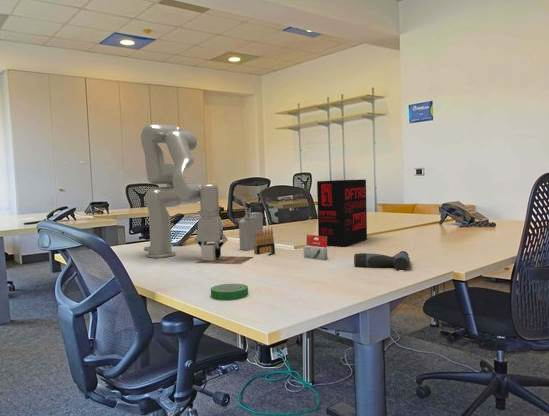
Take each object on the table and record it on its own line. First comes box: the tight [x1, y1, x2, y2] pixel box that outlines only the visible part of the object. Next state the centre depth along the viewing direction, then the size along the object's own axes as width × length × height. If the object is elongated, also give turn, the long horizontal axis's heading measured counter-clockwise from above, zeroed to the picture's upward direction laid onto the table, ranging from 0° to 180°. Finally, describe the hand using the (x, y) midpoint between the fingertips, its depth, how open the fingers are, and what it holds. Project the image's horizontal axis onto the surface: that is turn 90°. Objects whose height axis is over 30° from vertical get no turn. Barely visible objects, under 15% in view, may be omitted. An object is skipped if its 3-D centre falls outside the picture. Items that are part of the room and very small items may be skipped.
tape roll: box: [210, 283, 249, 301], centre depth 135 cm, size 11×11×3 cm
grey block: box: [200, 242, 222, 261], centre depth 189 cm, size 5×8×6 cm, turn 163°
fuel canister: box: [238, 198, 264, 251], centre depth 222 cm, size 15×5×25 cm, turn 144°
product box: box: [316, 179, 368, 248], centre depth 232 cm, size 26×14×32 cm, turn 145°
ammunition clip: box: [253, 227, 276, 256], centre depth 202 cm, size 11×2×12 cm, turn 132°
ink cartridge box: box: [303, 234, 329, 261], centre depth 190 cm, size 2×11×10 cm, turn 47°
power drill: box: [353, 250, 411, 271], centre depth 173 cm, size 5×19×20 cm
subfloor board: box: [194, 255, 255, 265], centre depth 187 cm, size 20×16×1 cm
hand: (211, 256), depth 189 cm, fingers closed on grey block, 5 cm apart
